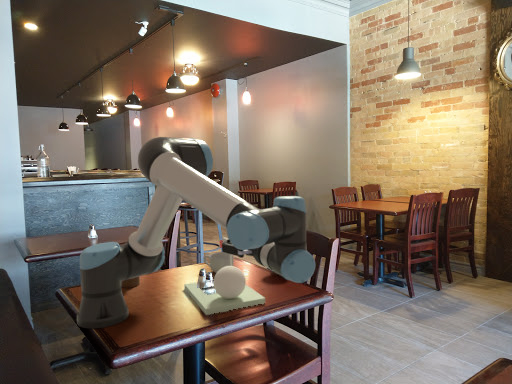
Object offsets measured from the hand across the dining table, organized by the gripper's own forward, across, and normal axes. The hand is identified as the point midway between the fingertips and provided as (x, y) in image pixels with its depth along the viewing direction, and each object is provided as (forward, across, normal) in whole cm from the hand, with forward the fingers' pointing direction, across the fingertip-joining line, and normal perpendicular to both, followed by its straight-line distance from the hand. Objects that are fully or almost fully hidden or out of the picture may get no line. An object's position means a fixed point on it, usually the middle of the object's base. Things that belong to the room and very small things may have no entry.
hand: (240, 239), depth 117 cm
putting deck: (+19, 0, -24) cm, 31 cm away
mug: (+47, -29, -24) cm, 60 cm away
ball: (+11, 0, -16) cm, 20 cm away
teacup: (+50, +9, -24) cm, 56 cm away
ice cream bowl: (+34, +30, -24) cm, 52 cm away
